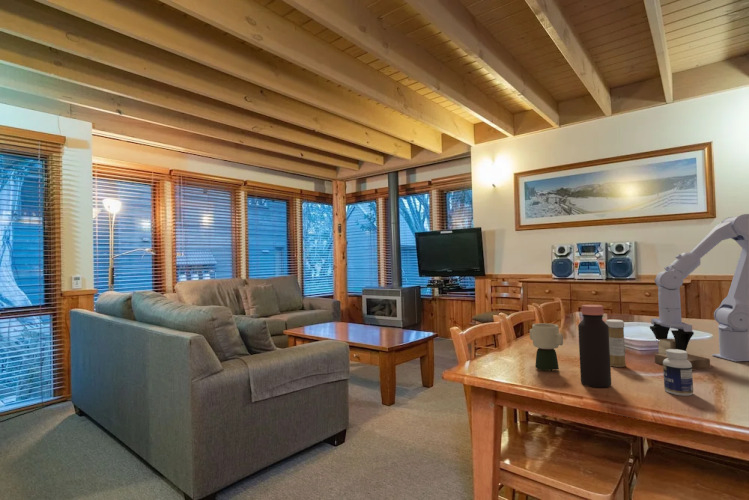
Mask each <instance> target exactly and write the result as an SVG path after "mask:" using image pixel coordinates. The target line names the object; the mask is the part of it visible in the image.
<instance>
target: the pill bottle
mask: <svg viewBox="0 0 749 500" xmlns="http://www.w3.org/2000/svg"><path fill="white" fill-rule="evenodd" d="M687 354H688V352H687V350H686V351H684V350H678V349H667V350H666V356H667V357H668V358H666V359H664V361H663V365H662V366H663V367H662V369H663V385H664V386H663V388H664V391H665V392H667V393H669V394H671V395H675V396H681V397H683V396H684V397H690V396H692V395H694V382H693V381H694V380H693V370H692V364H691V363H690V362H689V361H688V360H686V359H687V357H688V356H687Z"/></svg>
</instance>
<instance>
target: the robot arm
mask: <svg viewBox="0 0 749 500" xmlns="http://www.w3.org/2000/svg"><path fill="white" fill-rule="evenodd" d="M728 239H731V240H734V241H735V242H736V244H738V245H739V246H740V248H741V250H740V254H739V258H738V261H737V263H736V267H735V270H734V273H733V277H732V279H731V280H732V281H731V284H730V287H729V290H728V294H727V296H726V297H725V298H723V300H722V301H721V302H720V304H719V306H718V307H717V308H716V309H715V310H714V312H713V318H714V320H715V322H716V323H718V326H717V328H718V329H717V330H718V347H719V353H712V354H711V356H712V357H717V358H720V359H724V360H728V361H732V362H736V363H737V362H749V213H742V214H740V215H735V216H728V217H726V218H724V219H722V221H721V222H720V223H718V224H715V226H713V228H712V229H711V230H710V231H709V232H708V233H707V234H706V235H705V236H704V237H703V238H702V239H701V240H700V242H698V244H697V245H695V246H694V247H693V248H692V249H691V250H690V251H689V252H688V251H687V252H682V253H681V254H677V255H675V258H676V259H674V261H672V262H671V263H670V264H669V265H667V266H665V267H664V270H663V271H659V272H658V273H657V274H656V276H655V279H654V283H655V285H656V286H657V290H658V291H657V292H658V293H657V297H658V298H657V299H658V301H657V302H658V317H659V318H650V324H651V325H650V326H649V328H650V330H651V331H652V333H653V335H654V337H655V340H656V339H668V334H669V331H670V332H671V334H672V336H673V339H675V342H676V349H678V350H684V351H686V352H687V348H688V345H689V342H690V340H691V338H692V337H693V336H694V334H695V332H694V331H693V325H692V324H688V323H685V322H682V305H681V304H682V302H681V291H680V290H681V289H680V287H682V286H683V285H684V280H685V279H686V278H688V276H690V274H691V273H693V272H694V271H695V270H696V269H697V268H698V267H699V266H701V259H702V258H703V257H704V256H705V255H707V254H708V253H709V252H710V251H711V250H713V248H715V247H716V246H718V245H719V244H720V243H721V242H722V241H725V240H728ZM672 329H674V330H672Z"/></svg>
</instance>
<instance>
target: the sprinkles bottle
mask: <svg viewBox="0 0 749 500" xmlns="http://www.w3.org/2000/svg"><path fill="white" fill-rule="evenodd" d="M605 323H606V324H607V325H608V327H609V347H610V367H611V366H612V367H615V368H624V367H626V365H627V364H626V346H625V345H626V344H625V332H624V331H625V329H624V328H625V321H624V320H622V319H616V318H615V319H606V320H605Z"/></svg>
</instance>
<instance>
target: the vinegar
mask: <svg viewBox="0 0 749 500" xmlns="http://www.w3.org/2000/svg"><path fill="white" fill-rule="evenodd" d="M604 313H605V312H604V306H603V305H601V304H582V305H581V314H582V315H581V316H582V317H583V319H582V320H581V321H580V322H579V323H578V327H577V328H578V349H579V350H578V352H579V368H580V369H579V373H580V375H579V376H580V383H581V384H583V385H584V386H587V387H592V388H598V389H607V388H609V387H611V385H612V373H611V370H612V369H611V368H612V367H611V366H610V347H609V327H608V325H607V324H606V321H604V320H603V317H604Z"/></svg>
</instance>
